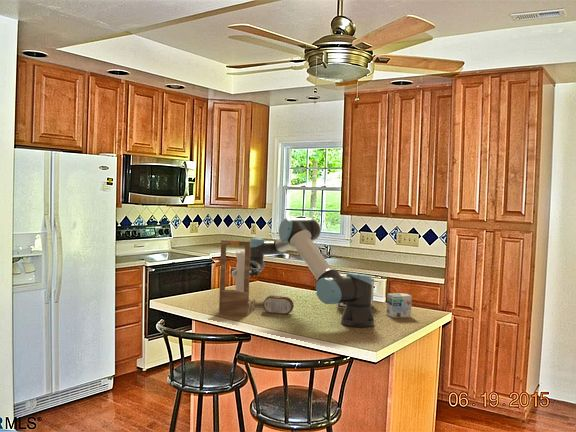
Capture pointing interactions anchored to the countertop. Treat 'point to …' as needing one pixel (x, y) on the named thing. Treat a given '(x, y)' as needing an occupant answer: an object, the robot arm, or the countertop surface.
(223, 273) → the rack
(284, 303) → the tin
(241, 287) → the skyscraper
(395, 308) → the light bulb box
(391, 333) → the countertop surface
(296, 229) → the robot arm
